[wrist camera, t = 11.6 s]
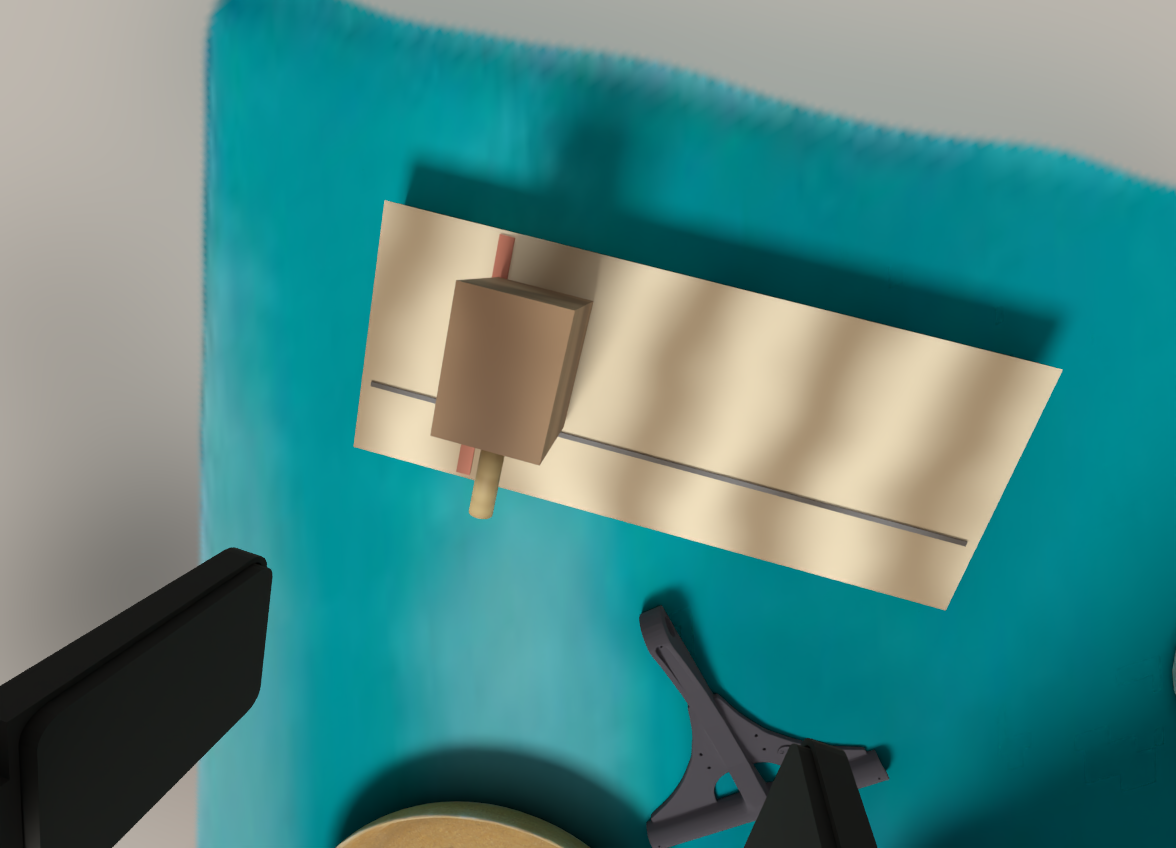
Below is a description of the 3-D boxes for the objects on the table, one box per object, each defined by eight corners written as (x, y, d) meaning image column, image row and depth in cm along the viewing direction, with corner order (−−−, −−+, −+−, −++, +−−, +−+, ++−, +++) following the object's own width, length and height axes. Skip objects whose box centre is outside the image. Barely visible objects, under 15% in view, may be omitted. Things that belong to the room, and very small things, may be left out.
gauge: (593, 301, 26) (574, 310, 20) (548, 491, 28) (521, 543, 23) (498, 276, 26) (456, 280, 21) (462, 468, 29) (417, 513, 23)
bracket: (770, 549, 31) (780, 577, 28) (882, 762, 33) (901, 805, 31) (542, 644, 34) (531, 676, 32) (658, 830, 37) (658, 874, 34)
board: (1033, 361, 26) (1064, 369, 24) (927, 588, 30) (946, 611, 28) (403, 204, 28) (383, 200, 26) (372, 435, 31) (352, 447, 29)
